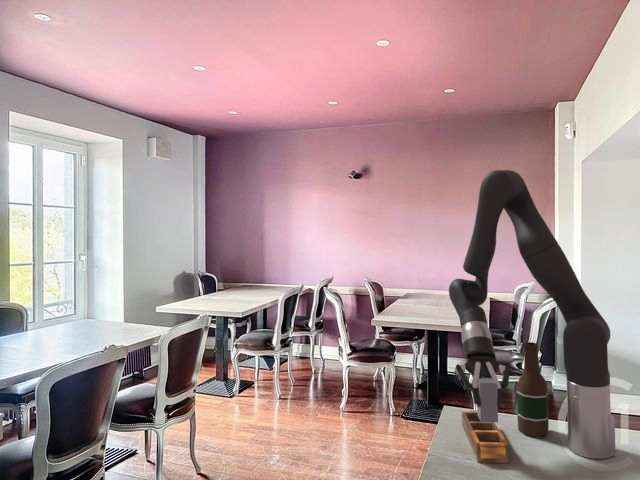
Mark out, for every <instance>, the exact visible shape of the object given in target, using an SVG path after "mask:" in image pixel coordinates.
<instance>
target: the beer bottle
mask: <svg viewBox="0 0 640 480" xmlns="http://www.w3.org/2000/svg"><path fill="white" fill-rule="evenodd" d="M523 344H524V345H523V348H524V361H523V362H524V363H523V371H522V372H523V373H522V374H521V375H520V377H519V378H518V381H517V384H516V403H517V407H516V408H517V410H516V411H517V430H518V431H519V432H520V433H522V434H523V435H524V436H527V437H531V438H536V437H538V438H543V437H542V436H545V437H547V436H546V435H548V433H549V391H548V390H549V389H548V384H547V382H546V379H545V378H544V376H543V375H542V374H541V371H540V370H541V369H540V364H539V363H540V362H539V361H540V360H539V352H538V351H539V350H538V349H539V344H538V343H536V342H533V341H532V342H530V341H529V342H525V343H523Z"/></svg>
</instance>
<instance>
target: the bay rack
mask: <svg viewBox="0 0 640 480" xmlns="http://www.w3.org/2000/svg"><path fill="white" fill-rule="evenodd" d="M461 424H462V428H463V431H464V434H465V436H466V438H467V440H468V443H469V446H470V447H471V450H472V453H473V456H474V458H475V460H476V463H489V464H490V463H491V464H492V463H495V464H496V463H499V464H501V463H503V464H505V463H506V464H509V463H510V461H509V457H510V456H509V443H508V441H507V440H506V438H505V437H504V434H503V433H502V432H501V431H500V430H499V428H498V425H496V422H481V421H480V419H479V417H478V415H477V411H462V412H461Z"/></svg>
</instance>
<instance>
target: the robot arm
mask: <svg viewBox="0 0 640 480" xmlns="http://www.w3.org/2000/svg"><path fill="white" fill-rule="evenodd" d="M478 192H479V193H478V194H479V195H478V201H477V209H476V214H475V221H474V227H473V231H472V234H471V237H470V238H471V239H470V242H469V245H468V248H467V251H466V255H465V258H464V260H463V261H464V262H463V266H462V269H463V271H464V272H465V273H467V274H468V275H471V276H473V277H475V280H470V279H464V278H455V279H453V280H452V281H451V282H450V284H449V287H448V295H449V296H448V297H449V299H450V302H451V303H452V306H453V307H454V309H455V312H456V313H457V315H458V317H459V323H460V329H461V343H462V348H463V353H464V354H463V355H464V359H465V360H464V361H465V362H464V363H463V364H456V365H455V369H454V373H455V375H456V377H458V380H459V382H460V384H461V386H462V387H463V390H465V391H470V392H471V394H472V400H473V404H474V405H476V408H477V407H480V406H481V399H480V394H479V389H478V388H477V387H478V382H477V379H479V377H481V378H492V379H495V381H496V382H497V395H498V399H497V406H498V408H501V406H502V405H503V402H504V399H503V393H502V391H507V388H508V386H509V379H510V375H511V365H510V364H506V365H502V364H500V362H499V361H498V360H497V357H496V351H495V347H494V342H493V338H492V335H491V331H490V328H489V326H488V320H487V316H486V315H487V314H486V311H485V310H484V308H483V307H482V306H481V305H483V304H484V303H485V302H486V300H487V298H488V292H489V291H488V284H489V282H488V280H489V270H490V268H491V265H492V262H493V259H494V255H495V252H496V249H497V248H496V247H497V231H498V223H499V220H500V217H501V215H502V212H503V210H505V213H506V215H507V216H508V217H509V219H510V221H511V224H512V225H513V228H514V232H515V237H516V238H515V239H516V241H517V247H518V250H519V253H520V256H521V258H522V260H523V262H524V263H525V265H526V267H527V270H529V272H530V274H531V275H532V277H533V278H534V279H535V281H536V282H537V283H538V284H539V285H540V287H541V288H542V289H543V290H544V291H545V292H546V293H547V294H548V295H549V296H550V297H551V299H552V300H553V301H554V302H555V304H556V306H557V308H558V309H559V311H560V313H561V315H562V317H563V320H564V321H565V326H564V327H565V328H564V329H563V332H562V333H563V335H562V337H563V338H562V339H563V340H562V343H563V344H562V345H563V346H562V347H563V364H564V366H563V367H564V369H565V373H566V376H565V377H566V407H567V408H566V409H567V411H566V413H567V447H568V449H569V450H570V451H571V452H572V453H574V454H576V455H578V456H581V457H584V458H587V459H593V460H604V459H608V458H611V457H616V424H615V422H616V420H615V419H616V418H615V416H614V415H613V414H612V412H611V409H612V407H611V374H610V371H609V362H608V361H609V359H608V358H609V357H608V356H609V355H608V344H609V342H610V340H611V329H610V326H609V324H608V322H607V321H606V320H605V318H603V315H602V314H601V313H600V312H599V311H598V309H597V308H596V307H595V305H594V304H593V303H592V301H591V299H590V298H589V297H588V295H587V294H586V292H585V291H584V288H583V287H582V285H581V284H580V281H579V279H578V277H577V275H576V273H575V271H574V269H573V267H572V266H571V263H570V262H569V260H568V258H567V256H566V254H565V252H564V251H563V248H561V246H560V244H559V242H558V240H557V239H556V238H555V236H554V235H553V233H552V231H551V230H550V227H549V226H548V225H547V223H546V221H545V220H544V218H543V217H542V215H541V213H540V212H539V210H538V208H537V206H536V204H535V203H534V200H533V197H532V196H531V193H530V191H529V188H528V187H527V185H526V181H525V180H524V179H523V177H522V176H521V175H520V174H519V173H518V172H516V171H514V170H510V169H497V170H492V171H490V172H488V173H486V175H485V176H484V177H483V178H482V181H481V182H480V186H479V191H478ZM466 371H467V373H469V374H470V375H471V376H472V380H471V382H470V381H469V379H468V378H467V376H466ZM497 371H500V375H502V379H501V380H502V381H501V383H500V381H499V378H498V376H497Z"/></svg>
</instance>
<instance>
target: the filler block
mask: <svg viewBox="0 0 640 480" xmlns="http://www.w3.org/2000/svg"><path fill="white" fill-rule="evenodd" d="M477 382H478V387H477V388H478V389H479V394H480V399H481V406H480V407H477V406H476V412H477V415H478V417H479V419H480V421H481V422H494V423H498V422H499V409H498V408H499V407H498V406H497V399H498V395H497V382H496V381H495V379H492V378H481V377H479V379H477Z"/></svg>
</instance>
